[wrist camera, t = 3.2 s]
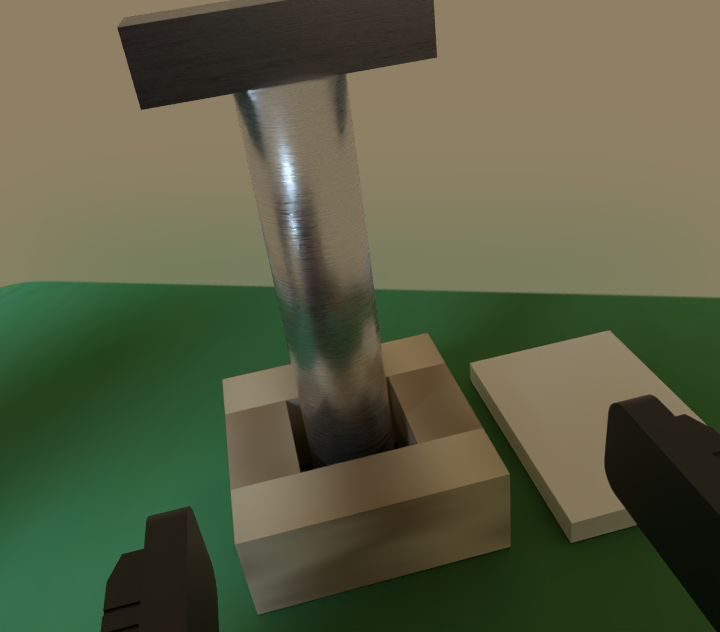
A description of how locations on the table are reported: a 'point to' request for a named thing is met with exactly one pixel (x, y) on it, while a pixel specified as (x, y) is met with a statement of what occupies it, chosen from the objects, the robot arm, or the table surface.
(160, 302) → the table surface
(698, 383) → the table surface
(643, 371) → the beige flat plate
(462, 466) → the slot block
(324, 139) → the t key
